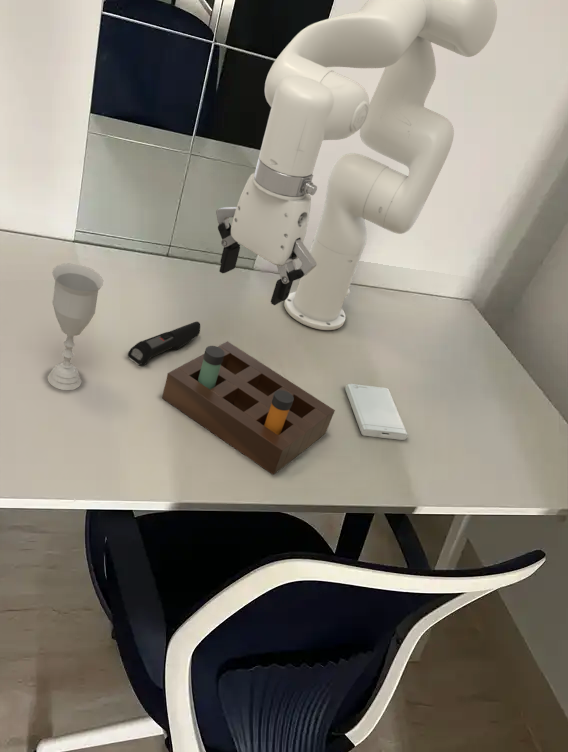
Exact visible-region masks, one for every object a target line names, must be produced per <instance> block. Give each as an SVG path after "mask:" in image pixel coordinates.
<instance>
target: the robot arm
mask: <svg viewBox="0 0 568 752" xmlns="http://www.w3.org/2000/svg"><path fill="white" fill-rule="evenodd" d="M497 18H498V8H497V4H496V1H495V0H367V1H366V2H365V3H364V4H363V5H362V7H361V8H360V9H359V11H355V12H349V13H344V14H340V15H335V16H333V17H330V18H326V19H322V20H320V21H316V22H313V23H311V24H309V25H307V26H306V27H305V28H303V29H301V30H300V31H299V32H297V34H296V35H295V36H294V37H293V38H292V39H291V41H290V42H288V44H286V46H285V48H283V50H282V51H281V52H280V54H279V55H278V56H277V58H276V59H275V60H274V61H273V63H272V65H271V66H270V69H269V71H268V73H267V76H266V79H265V83H264V96H265V100H266V102H267V103H268V105H269V107H270V111H269V115H268V118H267V123H266V127H265V131H264V135H263V138H262V143H261V147H260V150H259V155H258V159H257V162H256V167H255V171H254V172H253V173H251V174H250V175H249V177H248V179H247V181H246V183H245V185H244V187H243V189H242V192H241V194H240V196H239V199H238V202H237V205H236V206H225V207H224V206H223V207H220V208H217V209H216V211H215V212H216V214H215V215H216V220H217V223H218V226H217V230H218V232H219V235H220V238H221V241H220V242H221V244H220V245H221V246H222V247H223V249H222V253H221V257H220V261H219V262H220V266H219V271H218V272H219V273H220V274H226V273H228V272H230V271H233V270H235V268H236V265H237V262H238V258H239V254H240V251H241V246H242V247H243V248H246V249H247V250H249V251H250V252H252V253H253V254H256V255H257V256H259V257H261V258H262V259H263V260H265V261H267V262H268V263H271V264H273V265H274V266H276V268H277V271H278V274H279V277H280V278H278V279H277V280H276V282H275V285H274V288H273V292H272V295H271V299H270V304H271V305H273V306H276V305H278V304H280V303H282V302H283V303H284V304H283V306H284V309H285V310H286V312H287V314H288V315H289V316H290V317H291V318H293V320H295V321H297V322H298V323H301V324H302V325H304V326H307V327H309V328H312V329H316V330H319V331H334V330H337V329H338V330H339V329H340V328H341V327H343V325H344V324H345V322H346V318H347V317H346V313H345V311H344V309H343V308H342V307H343V305H344V302H345V300H346V298H347V297H348V296H350V294H351V289H350V286H351V284H352V281H353V279H354V276H355V273H356V271H357V268H358V265H359V263H360V260H361V258H362V255H363V253H364V250H365V248H366V244H367V240H368V230H367V223H366V221H368V222H370V223H372V224H375V225H376V226H379V227H381V228H382V229H383V230H387V231H389V232H391V233H393V234H398V235H403V234H405V233H407V232H409V231H410V230H411V229H412V228H413V226H414V225H415V223H417V220H418V219H419V217H420V215H421V212H422V211H423V209H424V207H425V204H426V202H427V200H428V198H429V196H430V194H431V192H432V190H433V187H434V185H435V183H436V182H437V179H438V177H439V175H440V173H441V171H442V169H443V166H444V165H445V162H446V160H447V158H448V156H449V153H450V152H451V148H452V144H453V141H454V136H455V129H454V125H453V123H452V122H451V121H450V119H448V118H447V117H445V115H442V114H440V113H438V112H436V111H433V110H432V109H429V108H427V107H425V103H426V99H427V97H428V95H429V93H430V91H431V89H432V86H433V85H434V82H435V80H436V77H437V65H436V57H435V53H434V50H433V48H434V47H433V45H432V44H435V45H436V46H438V47H442V48H444V49H446V50H448V51H450V52H453V53H455V54H457V55H459V56H462V57H465V58H471V57H474V56H477V55H478V54H479V53H481V52H482V50H484V48H485V47H486V46H487V44H489V42H490V39H491V38H492V35H493V33H494V31H495V28H496V24H497ZM331 68H353V69H383V68H384V70H383V73H382V74H381V76H380V79H379V82H378V84H377V86H376V88H375V90H374V92H373V95H372V97H371V99H370V98H369V94H368V92H367V90H366V89H365V88H364V87H363V86H362V85H361V84H360V83H358V82H357V81H356V80H353V79H352V78H349V77H347V76H345V75H342V74H340V73H338V72H336V71H335V70H333V69H331ZM358 131H359V138H360V140H361V142H362V143H363V144H364V145H365V146H366V147H367V148H369V149H371V150H372V151H374V152H376V153H378V154H380V155H383V156H384V157H386V158H389V159H390V160H393V161H394V162H395V161H396V162H397V163H399V164H401V165H403V166H405V167H407V168H408V175H406V174H404V173H402V172H400V171H398V170H396V169H393V168H392V167H390V166H388V165H386V164H384V163H381V162H380V161H377V160H375V159H373V158H371V157H369V156H366V155H363V154H360V153H355V152H354V153H353V152H350V153H346V154H343V155H341V156H340V157H338V158H337V159H336V160H335V162H334V164H333V165H332V167H331V169H330V172H329V176H328V179H327V186H326V192H325V197H324V203H323V209H322V211H321V212H322V213H321V215H320V219H319V222H318V225H317V228H316V231H315V234H314V237H313V240H312V243H311V246H310V249H309V250H308V248H307V247H306V246H305V240H306V236H307V232H308V227H309V221H310V216H311V205H312V196H314V195H315V194H316V193H317V190H318V186H317V185H316V184H314V183H313V178H314V174H313V173H314V169H315V166H316V163H317V160H318V156H319V153H320V150H321V147H322V143H323V141H339V140H344V139H347V138H350V137H351V136H352V135H354V134H355V133H357V132H358ZM230 218H232V222H229V221H230ZM298 259H299V261H300V263H301V266H300V267H299V268H298V269H297V265H296V262H295V260H298ZM296 280H299V282H298V284H297V288H296V291H293V292H291V290H292V286H293V283H294V281H296Z"/></svg>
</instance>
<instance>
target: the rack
mask: <svg viewBox="0 0 568 752" xmlns="http://www.w3.org/2000/svg"><path fill="white" fill-rule="evenodd" d="M217 347H219V348H221V349H222V350H223V351H224V353H225V355H224V358H223V362H222V363H221V366H220V370H219V373H218V377H217V381H216V384H215V387H214V388H212V389H208V388H207V387H205V386H204V385H202V384H201V383H199V382H198V378H199V374H200V371H201V367H202V363H203V359H204V358H203V357H204V353H202V354H201V355H198V356H197V357H194V358H192V359H191V360H189V361H188V362H185V363H184V364H182V365H179V366H178V367H176V368H175V369H173V370H171V371H169V372H167V375H166V379H165V384H164V388H163V392H162V396H161V399H162V400H164V401H166V402H167V403H168V404H170V405H171V406H173V407H174V408H176V409H177V410H179V411H180V412H181V413H182V414H184V415H186V416H187V417H188V418H190V419H192V420H193V421H194V422H196V423H197V424H199V425H200V426H202V427H203V428H205V430H208V431H209V432H210V433H212V434H213V435H215V436H216V437H218V438H219V439H221V440H222V441H223V442H224V443H226V444H228V445H229V446H231V447H232V448H233V449H235V450H237V452H240V454H242V455H244V456H245V457H246V458H248V459H249V460H251V461H252V462H254V463H256V464H257V465H258V466H260V467H261V468H263V469H264V470H265V471H267V472H268V473H270V474H271V475H275V474H276V473H277V472H279V471H280V470H281V469H283V468H284V467H285V466H286V465H288V464H289V463H290V462H291V461H293V460H294V459H296V458H297V457H298V456H299V455H301V454H302V453H303V452H304V451H306V450H307V449H308V448H309V447H310V446H312V445H313V444H314V443H316V442H317V441H318V440H319V439H320V438H322V437H323V436H324V435H326V433H327V431H328V428H329V426H330V424H331V421H332V419H333V417H334V414H335V412H336V409H334V408H332V407H331V406H329V405H328V404H326V403H325V402H323V401H322V400H320V399H318V398H317V397H315V396H314V395H312V394H310V393H309V392H307V391H306V390H304V389H303V388H302V387H300V386H298V385H297V384H295V383H294V382H292V381H291V380H289V379H287V378H285V376H283V375H281V374H280V373H278V372H277V371H275V370H273V369H272V368H270V367H268V366H267V365H266V364H264V363H262V362H260V361H259V360H258V359H256V358H254V357H253V356H251V355H249V354H248V353H247V352H245V351H243V350H242V349H240V348H239V347H237V346H236V345H234V344H232V343H231V342H230V341H228V340H227V341H225V342H223V343H222V344H221V343H220V344H219V345H218V346H217ZM278 390H284V391H287V392H289V393H290V394H292V396H293V397H294V400H293V403H292V406H291V408H290V409H289V412H288V415H287V417H286V420H285V423H284V425H283V428H282V431H281V434H280V435H277V434H276V433H274V432H273V431H271V430H270V429H268V428H267V427H265V426H264V424H265V421H266V418H267V415H268V412H269V409H270V407H271V404H272V399H273V396H274V393H275V392H276V391H278Z"/></svg>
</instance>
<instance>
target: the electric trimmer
mask: <svg viewBox="0 0 568 752" xmlns="http://www.w3.org/2000/svg"><path fill="white" fill-rule="evenodd" d="M200 332H201V323H200V322H199V321H193V322H191V323H188V324H186V325H182V326H180V327H178V328H175V329H173V330H170V331H166V332H162V333H160V334H158V335H155V336H151V337H149V338H147V339H144V340H140V341H138V342H137V343H136V344H134V345H133V346H132V347H131V348H130V349H129V351H128V353H127V357H128V359H129V360H131V362H134V364H136V365H138V366H139V365H142V366H145V365H146V364H148V362H149V361H150V360H151V359H152V358H153V357H155V356H157V355H160V354H162V353H164V352H167V351H168V350H170V349H174V350H178V349H180V348H182V347H183V346H185V345H186V344H188V343H189V342H191V341H192V340H194V339H195V338H197V337H198V336H200Z"/></svg>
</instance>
